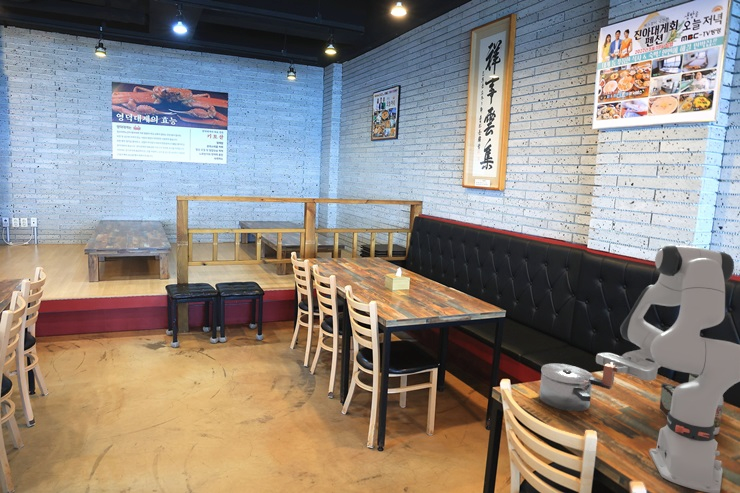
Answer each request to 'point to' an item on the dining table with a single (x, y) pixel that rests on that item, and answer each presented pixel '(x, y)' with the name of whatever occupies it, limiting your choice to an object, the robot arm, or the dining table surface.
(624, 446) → the dining table surface
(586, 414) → the dining table surface
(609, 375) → the lid
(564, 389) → the cooker pot
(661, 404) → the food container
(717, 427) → the milk bottle
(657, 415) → the dining table surface
